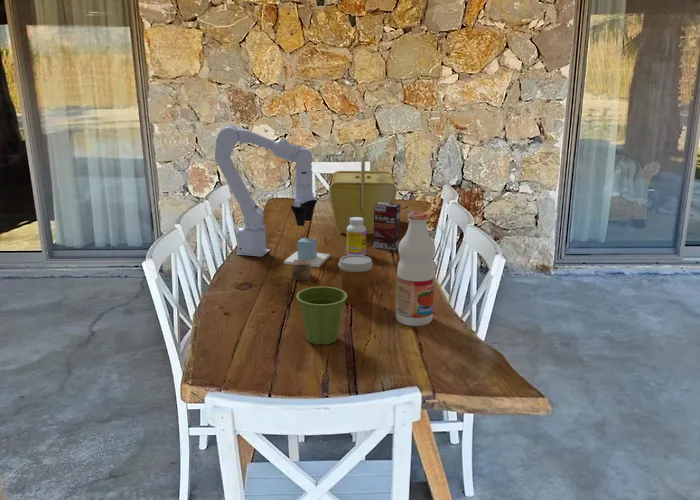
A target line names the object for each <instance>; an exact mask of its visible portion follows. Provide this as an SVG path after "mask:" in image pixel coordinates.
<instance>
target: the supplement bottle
mask: <svg viewBox="0 0 700 500" xmlns="http://www.w3.org/2000/svg"><path fill="white" fill-rule="evenodd" d="M363 222H364V219H363V218H361V217H352V218H350V225H349V226H348V227H347V234H346V256H348V255H362V256H366V254H367V234H366V227H365V226H364V225H363Z"/></svg>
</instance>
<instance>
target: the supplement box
mask: <svg viewBox="0 0 700 500" xmlns="http://www.w3.org/2000/svg"><path fill="white" fill-rule="evenodd" d="M400 227H401V204H400V203H394V204H391V203H381V202H378V203H376V204H375V205H374V234H372V235H373V236H372V237H373V239H372V240H373V241H372V242H373V244H372V247H373V248H377V249H385V250H392V251H396V250H398V248H399V243H400Z"/></svg>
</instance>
